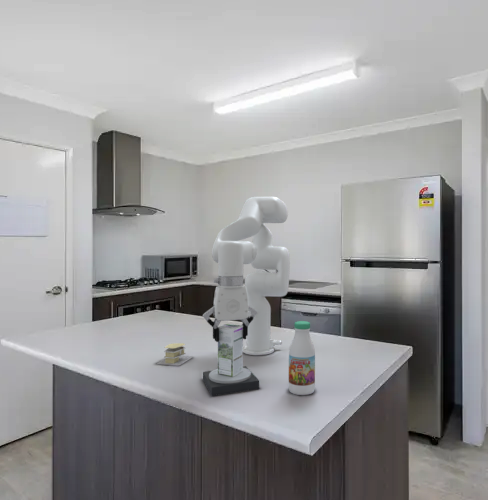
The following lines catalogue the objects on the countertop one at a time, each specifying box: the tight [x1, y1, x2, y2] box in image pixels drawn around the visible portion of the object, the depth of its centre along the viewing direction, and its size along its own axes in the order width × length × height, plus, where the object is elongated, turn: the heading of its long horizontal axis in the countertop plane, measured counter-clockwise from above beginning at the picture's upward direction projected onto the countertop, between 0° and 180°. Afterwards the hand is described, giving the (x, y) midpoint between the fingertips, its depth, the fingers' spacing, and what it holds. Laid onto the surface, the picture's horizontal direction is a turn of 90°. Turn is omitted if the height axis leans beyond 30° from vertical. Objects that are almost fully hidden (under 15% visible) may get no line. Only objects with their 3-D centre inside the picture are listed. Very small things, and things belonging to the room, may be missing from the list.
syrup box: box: [217, 323, 244, 377], centre depth 112 cm, size 6×6×14 cm
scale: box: [202, 365, 260, 397], centre depth 112 cm, size 14×14×3 cm
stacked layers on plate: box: [156, 342, 193, 367], centre depth 134 cm, size 10×9×6 cm
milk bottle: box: [288, 320, 316, 396], centre depth 107 cm, size 8×8×20 cm
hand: (230, 339), depth 112 cm, fingers closed on syrup box, 7 cm apart
